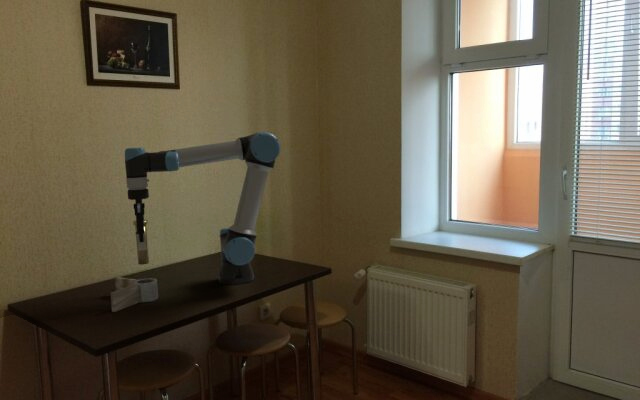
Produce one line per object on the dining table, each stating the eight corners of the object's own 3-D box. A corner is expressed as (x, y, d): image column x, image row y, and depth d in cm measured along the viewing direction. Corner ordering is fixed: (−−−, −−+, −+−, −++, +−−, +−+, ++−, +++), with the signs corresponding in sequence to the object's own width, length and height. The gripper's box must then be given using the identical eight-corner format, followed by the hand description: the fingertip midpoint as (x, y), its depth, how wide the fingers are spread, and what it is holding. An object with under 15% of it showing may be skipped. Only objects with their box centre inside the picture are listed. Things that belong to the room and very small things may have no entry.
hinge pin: (153, 262, 203) (150, 220, 201) (143, 265, 198) (140, 222, 196) (143, 261, 205) (140, 219, 203) (133, 264, 201) (130, 221, 199)
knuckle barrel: (162, 296, 206) (161, 279, 205) (146, 303, 198) (145, 285, 197) (147, 294, 209) (145, 277, 209) (130, 300, 202) (129, 283, 201)
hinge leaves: (149, 298, 204) (147, 281, 203) (114, 312, 189) (112, 293, 188) (118, 293, 212) (117, 277, 211) (83, 306, 197) (81, 288, 196)
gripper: (147, 189, 191) (152, 252, 194) (148, 186, 208) (152, 243, 210) (126, 191, 189) (131, 254, 192) (128, 187, 205) (133, 245, 208)
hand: (142, 248), depth 201 cm, fingers closed on hinge pin, 4 cm apart
